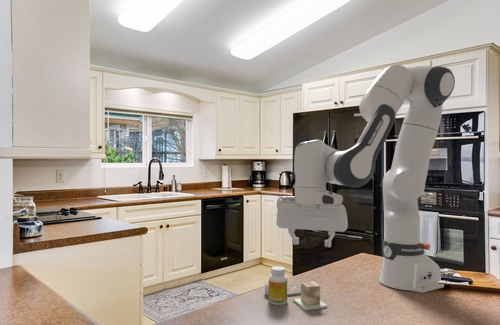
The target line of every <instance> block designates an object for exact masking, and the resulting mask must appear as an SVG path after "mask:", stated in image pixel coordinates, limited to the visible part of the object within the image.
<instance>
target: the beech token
mask: <svg viewBox="0 0 500 325" xmlns="http://www.w3.org/2000/svg"><path fill="white" fill-rule="evenodd" d="M300 286H301V295H300V298H301V300H302V301H303V302H304V303H305V304H306V305H314V304H320V300H321V285H319V283H317V282H315V281H304V282H303V281H302V282H301V284H300Z"/></svg>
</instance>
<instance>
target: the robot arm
mask: <svg viewBox="0 0 500 325" xmlns="http://www.w3.org/2000/svg"><path fill="white" fill-rule="evenodd" d="M455 84H456V80H455V75H454V73H453V71H452V69H450V68H448V67H446V66H440V65H437V66H431V65H430V66H429V65H428V66H427V65H418V66H411V67H406V66H403V65H401V64H392V65H389V66H387V67H386V68H385V69H384V70H382V72H380V73H379V74H378V76H377V77H376V78H375V79H374V80H373V82H372V83H371V84H370V86H369V87H368V89H367V90H366V91H365V93H364V95H363V96H362V98H361V100H360V103H359V107H358V108H359V112H360V115H361V117H362V118H363V119H364V120H365V121H366V122H367V124H366V126H365V127H364V129H363V131H362V133H361V134H360V135H359V137H358V140H357V141H356V143H355V144H354V146H352V147H351V148H348V149H346V150H339V149H336V148H333V147H331V146H330V145H328V144H326V143H325V142H324V141H323V140H322V139H312V140H309V141H302V142H300V143H298V144H297V145H296V147H295V150H294V161H293V169H294V170H293V173H294V176H295V182H294V196H285V195H284V196H282V195H281V197H279V198H278V199H277V201H276V209H277V212H276V226H277V227H278V228H279V229H287V230H288V231H287V233H288V234H289V236H290V238H291V240H292V245H299V244H300V238H299V237H297V235H296V234H295V231H296V230H305V231H306V230H307V231H321V232H323V231H324V232H327V234H328V236H329V237H328V239H324V247H325V248H331V247H332V240H333V238H334V236H335V235H336V232H337V233H344V232H346V230H347V229H348V228H349V224H348V221H349V220H348V213H347V208H346V207H345V205H344V204H342V203H343V201H344V198H343V195H341V194H339V193H335V192H332V191H329V190H327V183H330V184H334V185H339V186H345V187H348V188H353V189H354V188H355V189H356V188H357V189H358V188H361V187H364V186H365V185H366V184H368V183H369V182H370V180H371V179H372V177H373V174H374V172H375V166H376V161H377V158H378V156H379V154H380V151H381V150H382V148H383V146H384V143H385V142H386V140H387V138H388V136H389V134H390V132H391V130H392V128H393V126H394V124H395V120H396V118H397V117H396V116H397V115H398V112H399V111H400V110H401V108H402V106H403V104H404V103H405V102H406V103H407V102H408V103H409V107H408V109H407V111H406V112H405V113H406V114H405V116H404V119H403V121H402V124H401V128H400V131H399V135H398V137H397V141H396V144H395V148H394V154H393V159H392V163H391V167H390V169H389V170H388V171H387V172H386V173H385V174H384V176H383V178H382V196H383V197H382V198H383V201H382V202H383V212H384V213H383V215H384V218H383V219H384V225H383V227H384V230H383V231H384V232H383V233H384V234H383V235H384V236H383V238H384V239H383V240H382V253H383V259H382V266H381V271H380V276H379V278H378V281H379V283H380V284H381V285H384V286H386V287H390V288H392V289H397V290H401V291H411V292H416V293H420V294H421V293H422V294H423V293H427V292H431V291H435V290H438V289H443V288H445V287H444V284H439V283H435V282H438V281H440V280H441V278H442V274H441V267H440V266H439V265H438V263H436V262H435V261H434V260H432V259H431V258H430V257H429V256H428V255H427V254H425V250H426V251H430V249H431V245H430V244H429V243H426V242H423V243H421V217H420V212H419V205H418V204H419V203H418V199H419V198H420V197H421V196H422V195H423V193H424V192H425V189H426V181H427V176H428V171H429V165H430V160H431V155H432V151H433V148H434V146H435V145H434V144H435V142H436V138H437V136H438V132H439V129H440V125H441V120H442V114H443V104H444V103H445V101H446V100H448V98H449V97H450V96H451V94H452V93H453V91H454V88H455Z"/></svg>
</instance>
